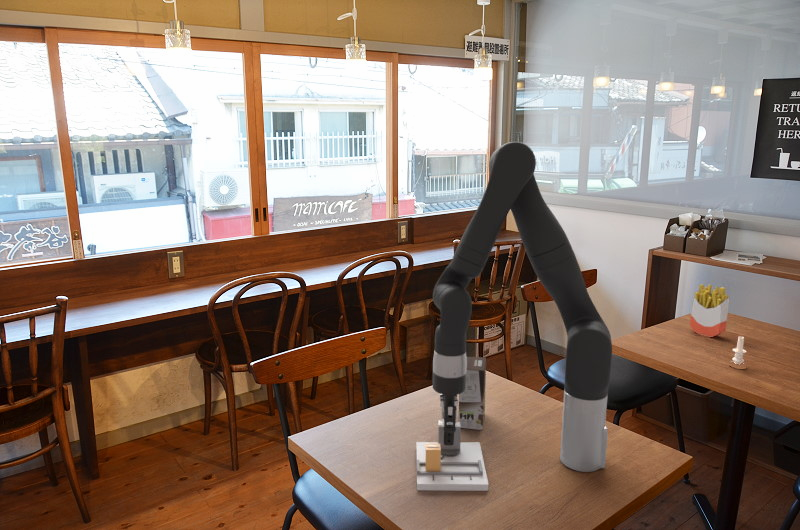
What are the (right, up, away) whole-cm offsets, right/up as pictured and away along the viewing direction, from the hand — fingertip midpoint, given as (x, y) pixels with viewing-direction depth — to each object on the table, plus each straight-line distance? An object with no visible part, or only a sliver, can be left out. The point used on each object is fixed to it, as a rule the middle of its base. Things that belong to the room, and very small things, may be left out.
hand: (447, 434), depth 138 cm
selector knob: (0, -4, 0) cm, 4 cm away
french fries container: (+100, +14, +79) cm, 128 cm away
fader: (-4, -6, -7) cm, 10 cm away
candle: (+95, +7, +51) cm, 108 cm away
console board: (0, -6, -4) cm, 7 cm away
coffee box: (+8, -2, +18) cm, 19 cm away
